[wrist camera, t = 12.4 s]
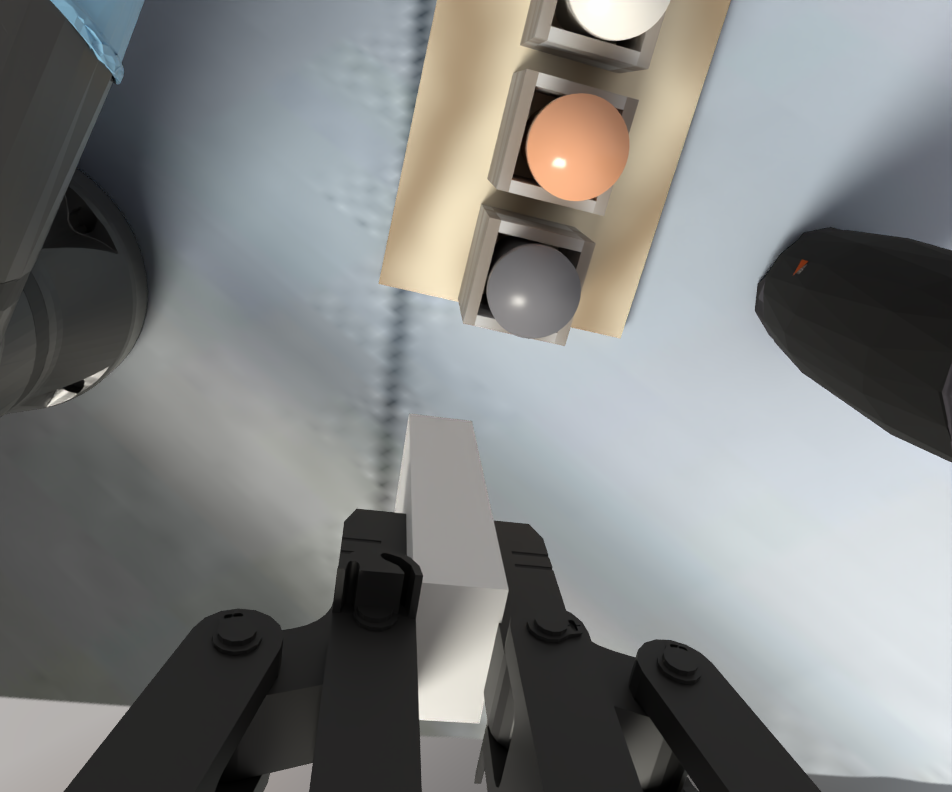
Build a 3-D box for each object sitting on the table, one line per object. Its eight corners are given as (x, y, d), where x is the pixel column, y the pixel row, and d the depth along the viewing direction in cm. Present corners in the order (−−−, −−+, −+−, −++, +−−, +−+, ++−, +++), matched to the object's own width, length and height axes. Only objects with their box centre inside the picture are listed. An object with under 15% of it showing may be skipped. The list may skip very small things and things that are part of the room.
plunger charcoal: (469, 295, 43) (477, 327, 37) (488, 216, 42) (501, 236, 36) (544, 312, 44) (565, 347, 38) (566, 235, 43) (592, 258, 36)
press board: (379, 279, 45) (373, 307, 39) (457, -100, 38) (465, -140, 32) (615, 332, 47) (645, 367, 41) (728, -16, 40) (785, -38, 34)
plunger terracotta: (500, 174, 40) (516, 187, 34) (523, 84, 39) (544, 81, 33) (581, 195, 41) (611, 211, 35) (607, 107, 40) (643, 108, 33)
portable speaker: (719, 273, 46) (915, 381, 28) (858, 189, 45) (1157, 245, 27) (774, 382, 49) (984, 544, 31) (906, 306, 48) (1206, 428, 30)
